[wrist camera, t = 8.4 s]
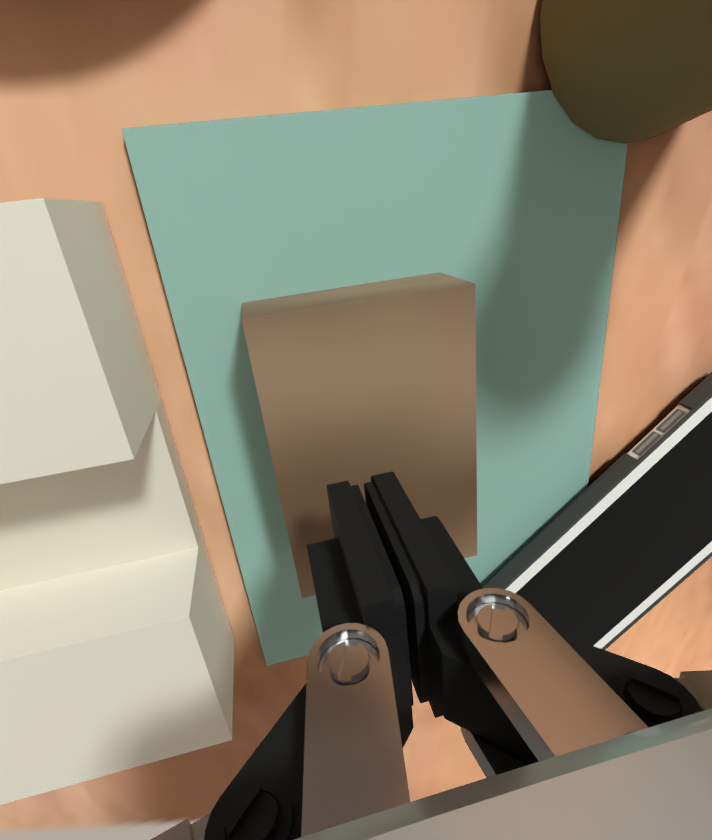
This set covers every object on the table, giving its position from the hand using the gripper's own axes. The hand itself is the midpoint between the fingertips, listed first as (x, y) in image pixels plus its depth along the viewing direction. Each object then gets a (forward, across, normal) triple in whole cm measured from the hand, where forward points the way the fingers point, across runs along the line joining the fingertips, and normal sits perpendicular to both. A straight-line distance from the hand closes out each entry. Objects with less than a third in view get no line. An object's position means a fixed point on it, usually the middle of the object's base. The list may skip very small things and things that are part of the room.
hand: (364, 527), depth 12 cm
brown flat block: (+2, -1, 0) cm, 3 cm away
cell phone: (+5, -12, +7) cm, 15 cm away
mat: (+5, -3, 0) cm, 6 cm away
